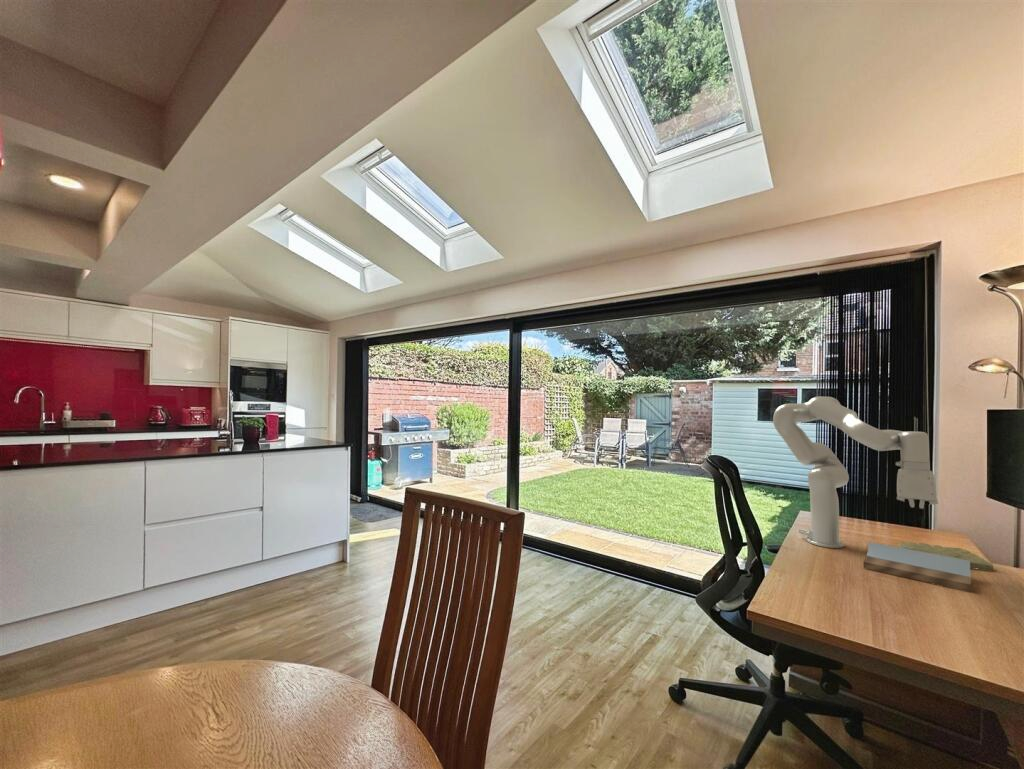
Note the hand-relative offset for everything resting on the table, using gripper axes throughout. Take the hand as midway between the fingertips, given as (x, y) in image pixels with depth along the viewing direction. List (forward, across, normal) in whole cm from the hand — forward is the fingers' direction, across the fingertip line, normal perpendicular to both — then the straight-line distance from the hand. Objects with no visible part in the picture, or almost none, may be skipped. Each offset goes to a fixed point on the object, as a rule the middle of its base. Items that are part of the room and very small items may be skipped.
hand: (917, 518), depth 154 cm
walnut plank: (+17, -1, -10) cm, 20 cm away
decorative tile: (+18, +5, +20) cm, 28 cm away
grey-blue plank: (+15, -1, -1) cm, 15 cm away
